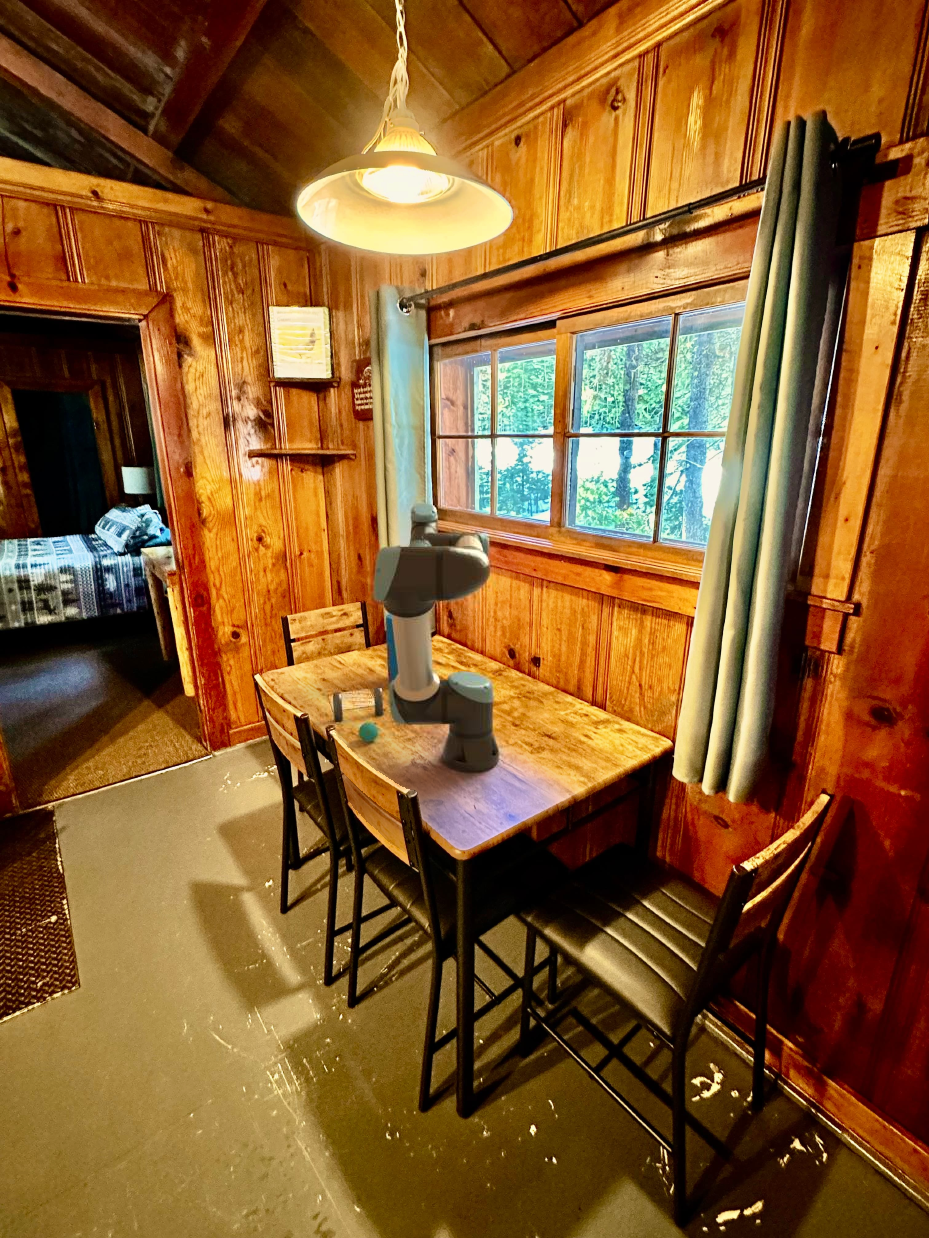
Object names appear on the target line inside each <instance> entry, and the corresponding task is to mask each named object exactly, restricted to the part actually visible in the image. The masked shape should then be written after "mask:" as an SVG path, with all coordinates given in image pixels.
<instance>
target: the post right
mask: <svg viewBox="0 0 929 1238" xmlns="http://www.w3.org/2000/svg"><path fill="white" fill-rule="evenodd" d="M373 698H374V705H375V706H374V715H375V717H383V715H384V700H383V699H384V698H383V687H382V686H374V687H373Z"/></svg>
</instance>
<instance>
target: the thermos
mask: <svg viewBox="0 0 929 1238" xmlns="http://www.w3.org/2000/svg"><path fill="white" fill-rule="evenodd" d="M385 634H386V635H385V637H386V654H387V655H386V657H387V658H386V659H387V677H388V684H390V683H391V682H392V681H393V680H395V678H396V676H397V675H398V674H399V673H398V665H397V656H396V648H395V640H394V632H393V624H392V615H390V614H389V613H388V614H387V613H386V616H385Z"/></svg>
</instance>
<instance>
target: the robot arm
mask: <svg viewBox="0 0 929 1238" xmlns="http://www.w3.org/2000/svg"><path fill="white" fill-rule="evenodd" d="M438 518H439V516H438V511H437V508H436V507H435V505H433V504H431V503H429V502H419V503H417V504H414V506H412V507H411V509H410V521H411V524H410V525H411V527H410V539H409V545H408V546H401V545H400V544H398V545H396V546H395V545H394V546H384V547H382V548H380V549H379V551H378V553H377V555H376V561H375V568H374V578H373V579H374V580H373V599H374V601H376V602H379V603H382V605H383V609H384V610H385V611H386V613H388V614H390V615H392V624H393V632H394V640H395V648H396V656H397V665H398V673H399V674H398V675H397V676H396V678H395V680H393V681H392V682H391V683H390V685H389V687H388V702H389V703H388V704H389V710H390V714H391V717H392V719H393V721H394V722H395V723H396V724H399V725H407V726H412V725H413V726H416V725H418V726H419V725H422V726H423V725H425V726H426V725H448V735H447V737H446V740H445V743H444V746H443V749H442V760H443V763H444V764H445V765H446V766H448V767H449V768H450V769H452V770H455V771H459V772H462V773H479V772H484V771H487V770H489V769H492V768H494V767H495V766H496V765H497V764H498V762H499V761H500V760H499V759H500V750H499V746H498V744H497V740H496V737H495V734H494V732H493V731H494V700H495V695H494V686H493V683H492V681H491V680H490V679H489V678H488V677H486V676H484V675H482V674H480V673H476V672H471V671H458V672H456V671H455V672H452V673H451V674H449V676H448V678H447V679H440V678H439V675H438V674H437V672H436V671H434V666H433V665H434V663H433V647H432V633H431V632H432V629H431V615H430V614H431V613H430V612H431V611H432V610H433V609H434V607H435V605H436V602H452V601H458V600H460V599H461V600H462V599H464V598H467V597H469V596H470V595H473V594H474V593H476V592H477V591H479V590H480V589H482V587H484V585H485V584H486V583H487V581H488V580H489V577H490V574H491V562H490V559H489V557H490V535H489V534H488V533H486V532H439V529H438V528H439V527H438V525H439V523H438V522H439V520H438Z"/></svg>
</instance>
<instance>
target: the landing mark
mask: <svg viewBox="0 0 929 1238" xmlns="http://www.w3.org/2000/svg"><path fill="white" fill-rule="evenodd" d="M358 690H359V689H357V690H351V691H343V692H341V693H344V694H341V697H342V701H352V700H353V701H365V700H366V699H363V698H361V699H360V698H356V699H357V700H356V699H355V698H353V699H352V698H350V697H367V695H366V694H365V695H366V696H365V695H363V694H360V695H358V694H357V695H355V694H354V695H352V694H349V693H366V692H364V691H363V690H369V691H370V689H369V688H367V689H366V688H365V689H360V690H359V691H358ZM361 690H362V691H361ZM352 691H353V692H352ZM355 691H356V692H355ZM346 693H347V694H346ZM367 693H368V692H367ZM369 693H371V691H370V692H369ZM369 696H370V695H369ZM369 696H368V697H369ZM371 696H372V697H373V698H372V699H367V700H368V701H372V703H371V702H370V703H369V702H368V703H367V702H366V703H362V702H361V703H360V702H359V703H357V702H356V704H354V705H358V706H355V708H356V709H360V707H362V708H368V707H367V706H368V705H369V707H374V706H373V705H374V695H372V694H371ZM371 696H370V697H371ZM329 697H330V696H329ZM329 697H328V698H329ZM344 697H345V698H344ZM347 697H348V698H347ZM346 698H347V699H346ZM349 698H350V699H349ZM351 699H352V700H351ZM359 699H360V700H359ZM367 700H366V701H367ZM330 701H333V700H329V703H330V707H331V709H332V712H333V713H334V709H333V702H330ZM348 703H349V702H348ZM351 703H352V702H351ZM342 705H348V704H346V702H345V703H344V702H342ZM349 705H350V704H349ZM352 705H353V704H352ZM359 705H360V706H359ZM361 705H362V706H361ZM364 705H365V706H364ZM366 705H367V706H366ZM353 708H354V707H353ZM345 709H349V710H353V709H352V708H349V707H347V706H344V707H343V706H342V711H346V710H345Z"/></svg>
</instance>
